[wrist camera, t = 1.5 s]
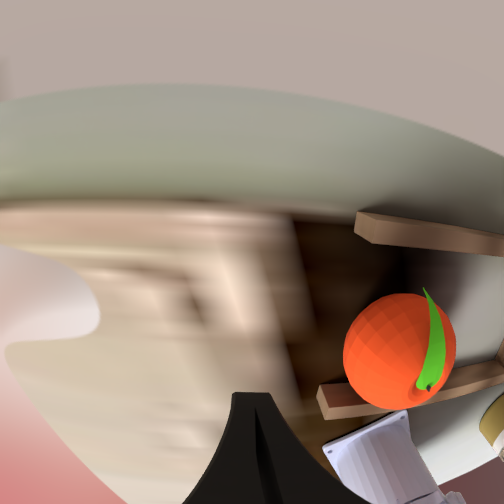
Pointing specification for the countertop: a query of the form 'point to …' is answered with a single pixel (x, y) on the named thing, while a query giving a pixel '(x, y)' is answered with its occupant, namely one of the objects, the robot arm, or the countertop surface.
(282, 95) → the countertop surface
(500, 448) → the paper tube
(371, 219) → the holder
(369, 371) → the clementine
